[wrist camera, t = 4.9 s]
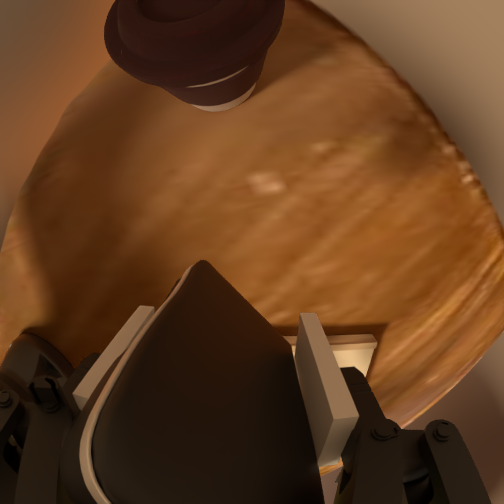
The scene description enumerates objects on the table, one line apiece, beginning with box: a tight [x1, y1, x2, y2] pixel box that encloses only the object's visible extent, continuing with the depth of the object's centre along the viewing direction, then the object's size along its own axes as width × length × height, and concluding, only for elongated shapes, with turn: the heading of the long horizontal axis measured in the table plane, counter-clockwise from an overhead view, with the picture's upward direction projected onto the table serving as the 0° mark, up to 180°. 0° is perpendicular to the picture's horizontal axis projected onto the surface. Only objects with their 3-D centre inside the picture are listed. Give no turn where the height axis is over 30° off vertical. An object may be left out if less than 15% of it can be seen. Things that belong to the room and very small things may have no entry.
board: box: [283, 334, 378, 377], centre depth 30 cm, size 14×16×2 cm
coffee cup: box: [104, 0, 285, 112], centre depth 15 cm, size 10×10×15 cm
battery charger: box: [60, 260, 325, 504], centre depth 8 cm, size 7×4×11 cm, turn 42°
